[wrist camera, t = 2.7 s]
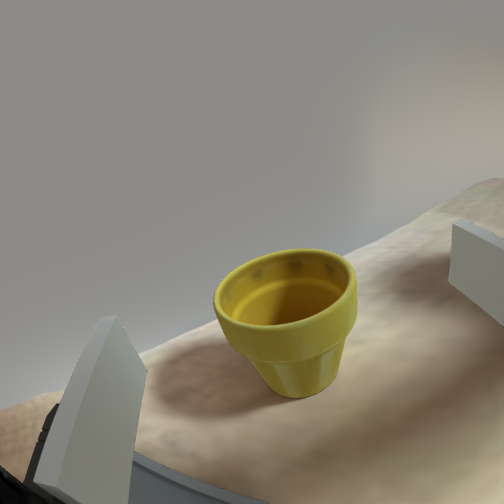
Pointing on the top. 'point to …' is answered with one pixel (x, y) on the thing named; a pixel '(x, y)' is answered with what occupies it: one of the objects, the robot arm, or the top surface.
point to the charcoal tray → (175, 487)
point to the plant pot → (290, 316)
